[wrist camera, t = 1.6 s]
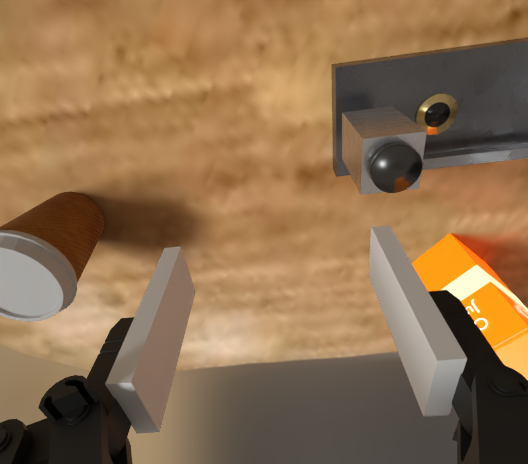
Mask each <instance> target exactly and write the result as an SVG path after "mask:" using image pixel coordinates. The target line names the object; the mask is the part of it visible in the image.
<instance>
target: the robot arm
mask: <svg viewBox="0 0 528 464" xmlns="http://www.w3.org/2000/svg"><path fill="white" fill-rule="evenodd" d="M369 278H370V281H371V284H372V286H373V289H374V291H375V294H376V296H377V299H378V301H379V304H380V307H381V309H382V312H383V314H384V317H385V319H386V322H387V324H388V327H389V330H390V332H391V335H392V337H393V340H394V342H395V345H396V347H397V350H398V353H399V355H400V358H401V360H402V363H403V365H404V368H405V370H406V373H407V376H408V378H409V381H410V383H411V386H412V388H413V391H414V393H415V396H416V399H417V401H418V403H419V406H420V409H421V411H422V414H423V416H439V415H449V413H450V410H451V407H452V405H453V407H454V409H455V411H456V413H457V415H458V417H459V421H458V424H457V427H456V429H455V432H454V436H453V440H455V441H457V464H528V380H527V379H526V378H525V377H524V376H523V375H522V374H520V373H519V372H517V371H516V370H514V369H513V368H510V367H508V366H505V365H504V363H503V362H502V361H501V360H500V358H499V357H498V355H497V354H496V352H495V351H494V349H493V348H492V347H491V345H490V344H489V342H488V341H487V339H486V338H485V336H484V335H483V333H482V332H481V330H480V329H479V327H478V326H477V324H475V323H474V320H473V319H472V317H471V316H470V314H468V311H467V310H466V308H465V307H464V305H463V304H462V302H461V301H460V300H459V299H458V298H457V297H456V296H454V295H453V294H452V293H450V292H449V291H448V290H438V291H427V289H426V287H425V285H424V284H423V282H422V280H421V279H420V277H419V275H418V273H417V272H416V270H415V268H414V267H413V265H412V263H411V261H410V260H409V258H408V256H407V255H406V253H405V251H404V249H403V248H402V246H401V244H400V243H399V241H398V239H397V237H396V236H395V234H394V232H393V231H392V229H391V227H390V226H379V227H371V242H370V259H369ZM194 295H195V289H194V285H193V282H192V279H191V276H190V273H189V270H188V267H187V263H186V260H185V257H184V254H183V251H182V248H181V246H180V247H170V248H164V250H163V253H162V255H161V257H160V260H159V262H158V264H157V266H156V269H155V271H154V273H153V276H152V278H151V280H150V282H149V285H148V287H147V289H146V292H145V294H144V296H143V298H142V301H141V303H140V305H139V308H138V310H137V312H136V315H135V317H132V318H121V319H120V320H119V321H118V323H117V324H116V325H115V326H114V327H113V328H112V329H111V330H110V332H109V334H108V336H107V338H106V340H105V344H103V346H102V348H101V351H100V354H99V355H98V357H97V359H96V361H95V363H94V365H93V367H92V369H91V371H90V373H89V375H88V377H87V379H86V378H84V377H83V376H77V375H74V376H70V377H67V378H64V379H63V380H61V381H59V382H57V383H56V384H55V385H53V386H52V387H51V388H50V389H49V390H48V391H47V392H46V394H45V395H44V396H43V398H42V399H41V402H40V405H39V409H40V410H41V411H42V412H43V413H44V415H45V416H46V417H47V418H46V419H44V420H41V421H38V422H36V423H33V424H30V425H28V426H26V425H25V424H23V422H21V421H19V420H17V419H11V420H6V421H4V422H1V423H0V464H132V457H131V445H130V442H129V440H128V438H127V435H128V432H129V429H130V426H131V425H132V427H133V428H134V430H135V431H136V433H152V432H160V428H161V424H162V420H163V416H164V412H165V408H166V404H167V400H168V397H169V392H170V389H171V385H172V381H173V377H174V373H175V369H176V366H177V362H178V358H179V354H180V350H181V346H182V342H183V338H184V334H185V330H186V327H187V323H188V319H189V315H190V311H191V307H192V303H193V299H194Z"/></svg>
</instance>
